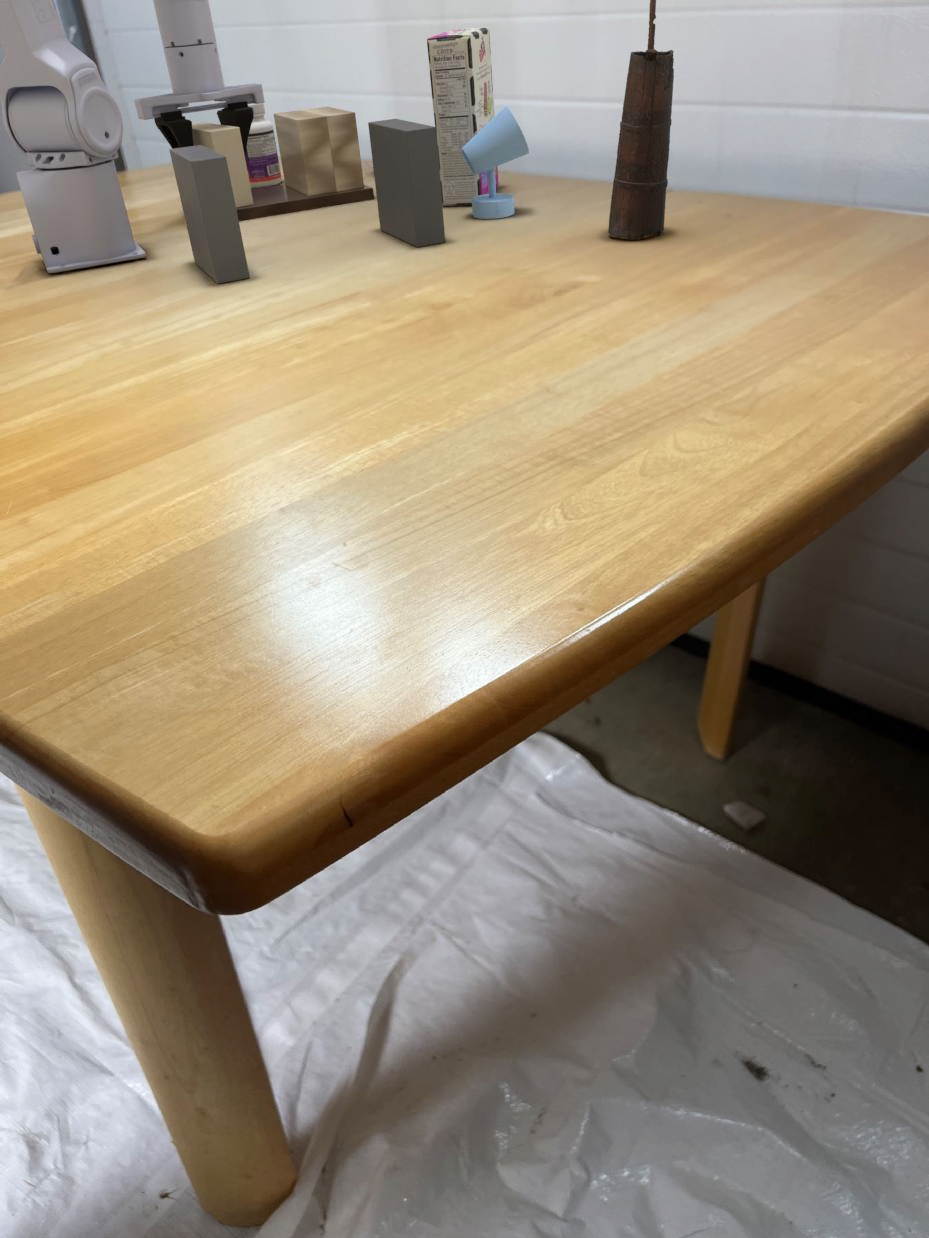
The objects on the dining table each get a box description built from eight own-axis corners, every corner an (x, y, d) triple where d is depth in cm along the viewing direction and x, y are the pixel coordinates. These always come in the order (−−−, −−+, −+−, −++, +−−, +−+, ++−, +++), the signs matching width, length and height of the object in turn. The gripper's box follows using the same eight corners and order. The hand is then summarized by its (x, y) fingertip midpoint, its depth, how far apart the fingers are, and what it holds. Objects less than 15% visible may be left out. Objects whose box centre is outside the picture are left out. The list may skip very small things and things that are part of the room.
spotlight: (523, 206, 101) (461, 213, 101) (520, 102, 96) (454, 109, 95) (534, 214, 97) (470, 222, 97) (531, 107, 92) (463, 114, 91)
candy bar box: (459, 188, 113) (448, 29, 104) (499, 186, 112) (491, 26, 103) (438, 207, 104) (424, 36, 95) (482, 206, 103) (472, 32, 94)
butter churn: (673, 251, 81) (696, -165, 65) (571, 246, 85) (569, -147, 69) (702, 227, 87) (729, -157, 71) (606, 224, 91) (612, -141, 75)
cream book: (226, 210, 106) (210, 131, 101) (192, 200, 112) (175, 126, 108) (253, 204, 107) (239, 127, 103) (218, 195, 114) (203, 122, 109)
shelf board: (210, 225, 105) (190, 135, 100) (189, 209, 114) (170, 125, 109) (374, 198, 111) (364, 112, 106) (341, 185, 120) (331, 105, 115)
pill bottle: (240, 184, 127) (225, 104, 122) (279, 179, 128) (265, 99, 123) (244, 190, 123) (228, 107, 117) (285, 185, 124) (271, 102, 118)
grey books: (217, 284, 83) (190, 161, 77) (194, 262, 90) (168, 149, 85) (445, 242, 90) (436, 127, 84) (406, 225, 97) (396, 118, 92)
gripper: (138, 52, 95) (171, 195, 102) (266, 38, 101) (288, 174, 109) (115, 52, 100) (149, 189, 107) (238, 39, 106) (261, 168, 114)
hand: (217, 181), depth 108 cm, fingers open, 5 cm apart
